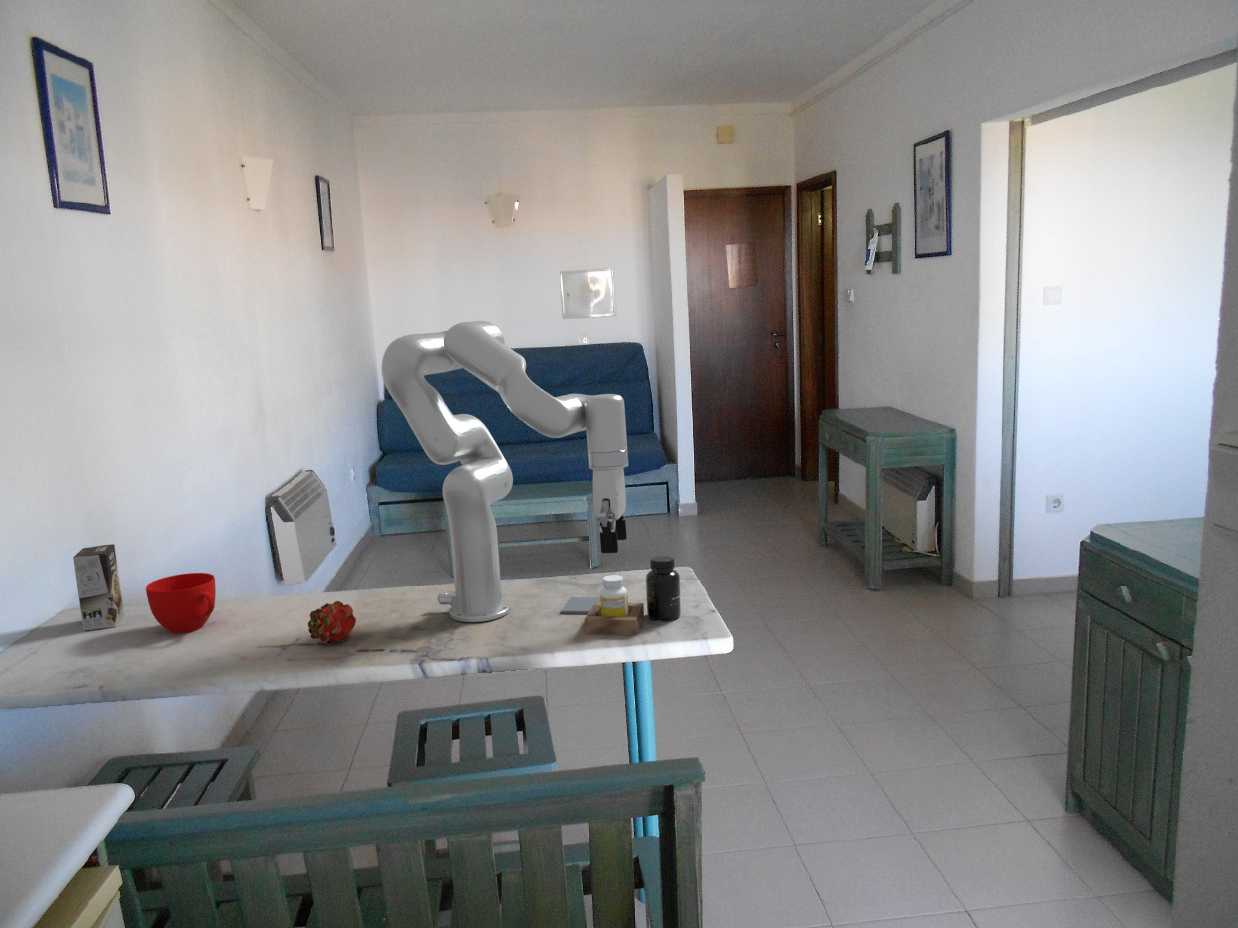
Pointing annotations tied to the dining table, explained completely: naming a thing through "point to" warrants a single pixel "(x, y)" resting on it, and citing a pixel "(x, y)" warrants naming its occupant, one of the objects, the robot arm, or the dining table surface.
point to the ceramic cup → (182, 601)
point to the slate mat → (579, 605)
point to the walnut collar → (614, 621)
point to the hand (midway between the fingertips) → (614, 546)
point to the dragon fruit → (331, 622)
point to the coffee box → (98, 587)
